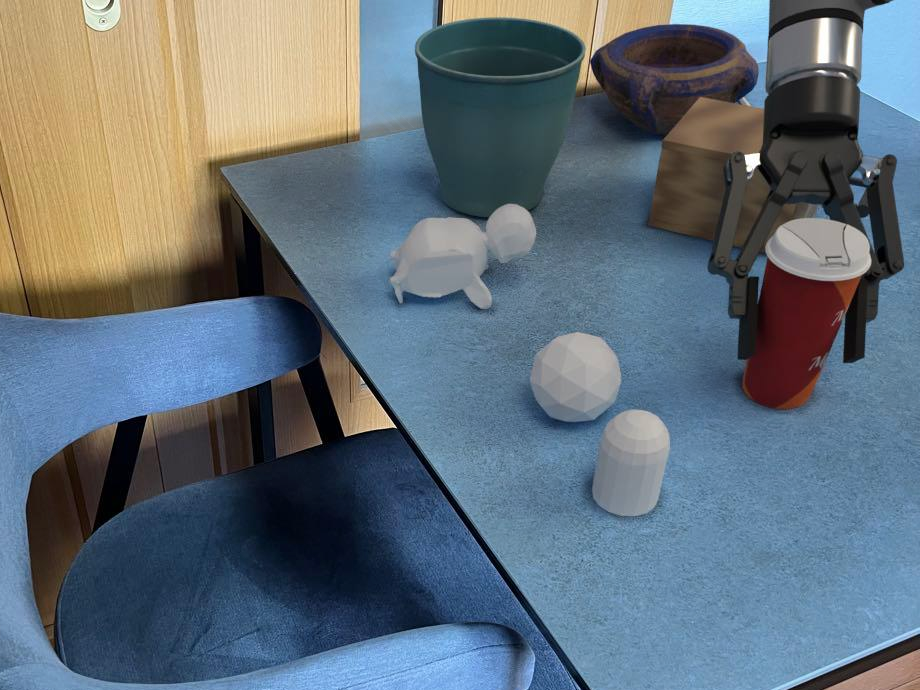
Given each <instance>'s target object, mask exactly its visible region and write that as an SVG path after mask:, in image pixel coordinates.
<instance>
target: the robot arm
mask: <svg viewBox="0 0 920 690" xmlns="http://www.w3.org/2000/svg"><path fill="white" fill-rule="evenodd" d="M893 1H894V0H769V1H768V2H769V6H768V35H767V50H766V52H767V53H766V67H765V68H766V69H765V85H764V87H765V88H764V89H765V92H766V93H767V96H766V97H765V99H764V106H763V109H764V124H763V144H762V148H761V150H760V152H759V153H756V154H749V155H744V154H743V153H742V152H738V151H737V152H734V153H733V154H732V155H731V157H730V158H729V160H728V161H727V162H726V164H725V165H724V167H723V172H724V179H725V187H726V190H725V194H724V198H723V203H722V207H721V211H720V215H719V220H718V224H717V228H716V232H715V237H714V241H712V245H711V250H710V254H709V259H708V262H707V272H708V273H709V274H710V275H713V276H715V275H716V276H720V277H723V278H725V282H726V283H727V284H728V299H727V300H728V303H727V314H728V317H729V319H733V320H734V319H735V320H738V336H737V337H738V339H737V358H736V359H737V360H739V361H746V360H747V359H748V358H750V357H752V356H753V355H755V352H756V330H757V308H758V301H759V284H760V277H759V276H752V275H751V276H749V273H750V272H751V270H752V268H753V267H754V264H755V262H756V260H757V258H758V256H759V254H760V253H761V252H760V250H761V248H762V246H763V244H764V242H765V240H766V238H767V237H768V235H769V233H770V231H771V229H772V227H773V225H774V223H775V221H776V219H777V217H778V215H779V213H780V211H781V209H782V207H783V205H784V204H796V203H800V202H806V203H809V204H817V205H820V206H821V207H822V210H823V211H824V214H825V215H826V216H828V217H829V220H833V221H837V222H841V223H844V224H846V226H847V225H850V226H852V227H854V228H856V229H857V230H859V231H860V232H862V233H863V234H864V235H865V236H866V237H867V239H868V241H869V245H870V251H869V253H870V257H871V266H870V268H869V269H868V270H867V271H866V272H865V273H864V274H862V276H861V278H860V281H859V283H858V286H857V288H856V290H855V293H854V295H853V297H852V300H851V302H850V305H849V307H848V309H847V312H846V314H845V317H844V330H843V331H844V333H843V352H842V353H843V354H842V363H843V364H854V363H856V362H858V361H860V360H862V359H864V358H866V357H865V356H866V334H867V324H868V323H871V322H872V321H874V320H876V318H877V316H878V314H879V313H878V312H879V295H880V293H879V290H880V283H881V281H883V280H888V279H890V278H892V277H893V276H896V275H897V274H898V273H900V272H901V271H903V270H904V268H905V258H904V251H903V244H902V238H901V232H900V224H899V223H900V222H899V216H898V210H897V203H896V196H895V189H894V183H893V182H894V178H895V174H896V169H897V164H898V158H897V157H896V156H895V155H894V154H892V153H891V154H890V153H888V154H886V155H884V156H883V157H877V156H870V155H864V152H863V150H862V149H861V146H860V144H859V139H858V138H859V128H860V108H861V107H860V106H861V89H860V86H858V84H859V83H860V82H861V80H862V69H863V68H862V67H863V65H862V63H863V34H864V23H865V22H864V20H865V13H866V11H867V10H869V9H872V8H875V7H878V6H883V5H887V4H890V3H891V2H893ZM757 168H758V170H759V171H760V173H761V174H762V176H763V177H764V179H765V180H766V182H767V183H768V185H769V186H770V187H771V190H770V192H769V194H768V196H767V198H766V200H765V202H764V204H763V206H762V209H761V211H760V213H759V215H758V217H757V219H756V221H755V223H754V225H753V227H752V229H751V231H750V233H749V235H748V237H747V239H746V240H745V242H744V244H743V246H742V248H741V247H740V248H741V249H740V250H739V252H738V254H737V256H736V258H735V259H733V258H731V254H732V249H733V247H734V246H733V241H734V237H735V233H736V228H737V224H738V220H739V216H740V211H741V207H742V203H743V199H744V194H745V190H746V185H747V182H748V181H749V180H750V178H751V177H752V176H753V174H754V169H757ZM856 171H857V172H859V173H860V174H861V179H862V180H863V184H865V185H868V186H867V202H868V209H869V215H868V216H869V221H870V223H869V224H870V229H871V230H870V231H871V235H872V236H871V237H872V242H873V246H872V243H871V240H870V239H869V236H868V234H867V231H866V228H865V226H864V224H863V220H862V218H860V216H859V214H858V211H857V209H856V207H855V204H856V203H855V202H854V200H855V195H854V191H853V189H852V186H851V185H850V184H849V182H848V180H849V179H850V177H853V176H854V174H855V173H856Z"/></svg>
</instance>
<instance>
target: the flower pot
mask: <svg viewBox="0 0 920 690" xmlns="http://www.w3.org/2000/svg"><path fill="white" fill-rule="evenodd" d="M586 50H587V48H586V44H585V42H584V41H583V40H582V38H581V37H579V35H577V34H575V32H572V31H570V30H569V29H566V28H564V27H561V26H559V25H556V24H552V23H549V22H545V21H539V20H534V19H529V18H520V17H519V18H518V17H502V16H501V17H499V16H498V17H496V16H495V17H494V16H493V17H491V16H490V17H476V18H475V17H474V18H467V19H461V20H456V21H455V20H454V21H450V22H448V23H447V22H446V23H444V24H443V23H442V24H441V25H438V26H435V27H433V28H430V29H429V30H427V31H425V32H424V33H422V34H421V35H420V36H419V37H418V38H417V40H416V41H415V44H414V54H415V58H417V61H416V63H417V75H418V76H417V77H418V82H419V95H420V96H419V97H420V109H421V118H422V125H423V131H424V135H425V139H426V142H427V146H428V149H429V152H430V155H431V158H432V160H433V164H434V167H435V170H436V174H437V178H438V181H439V195H440V197H441V199H442V201H443V202H444V203H445V204H446V205H447V206H448V207H450V208H452V209H453V210H454V211H457V212H459V213H462V214H466V215H469V216H474V217H480V218H482V217H483V218H490V216H491V215H492V213H494V212H495V210H497V209H498V208H500V207H501V206H503V205H506V204H517V205H518V206H521V207H523V208H525V209H526V210H527V211H528V212H529V211H530V210H532V209H534V208H535V207H536V206H538V205H539V204H540V202H541V201H542V199H543V196H544V188H545V184H546V182H547V179H548V177H549V175H550V172H551V170H552V168H553V166H554V164H555V162H556V159H557V157H558V155H559V153H560V150H561V148H562V146H563V144H564V141H565V139H566V135H567V132H568V129H569V126H570V121H571V117H572V114H573V107H574V102H575V99H576V92H577V86H578V83H579V80H580V74H581V70H582V69H581V68H582V63H583V61H584V59H585V56H586Z"/></svg>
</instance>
